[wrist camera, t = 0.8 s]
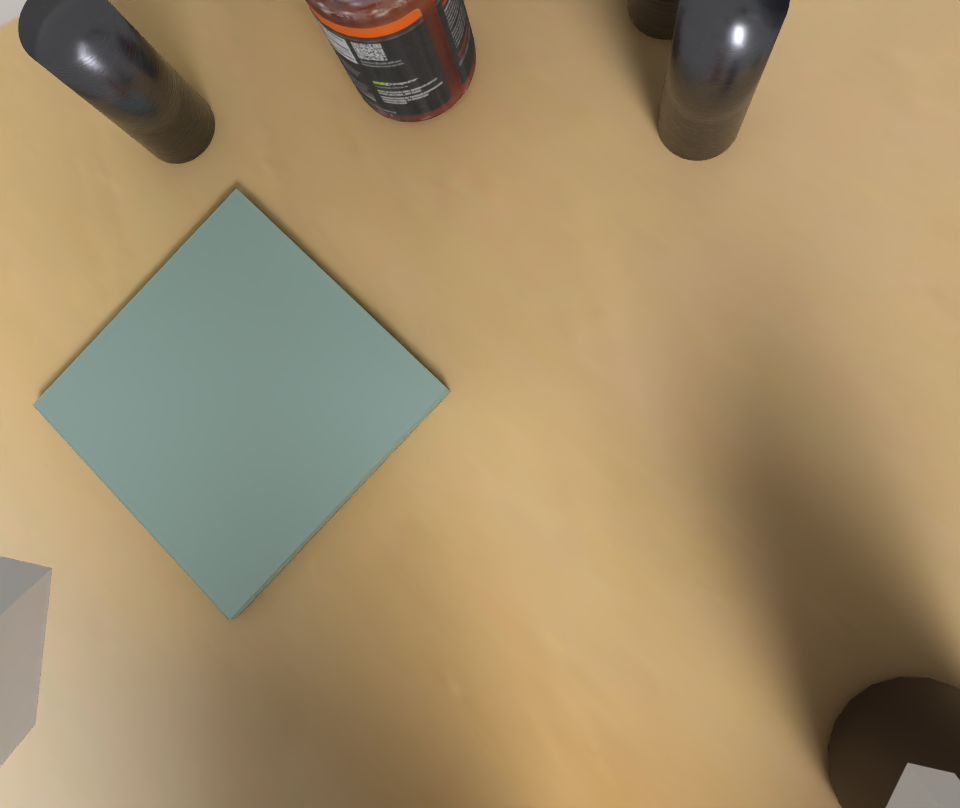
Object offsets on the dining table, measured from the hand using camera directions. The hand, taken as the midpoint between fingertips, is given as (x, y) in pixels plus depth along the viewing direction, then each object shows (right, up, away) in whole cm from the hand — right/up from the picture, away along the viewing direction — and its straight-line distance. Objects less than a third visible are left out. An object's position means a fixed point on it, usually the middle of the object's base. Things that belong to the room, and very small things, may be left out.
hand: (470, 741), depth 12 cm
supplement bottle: (-3, +21, +26) cm, 34 cm away
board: (-11, +5, +25) cm, 28 cm away
